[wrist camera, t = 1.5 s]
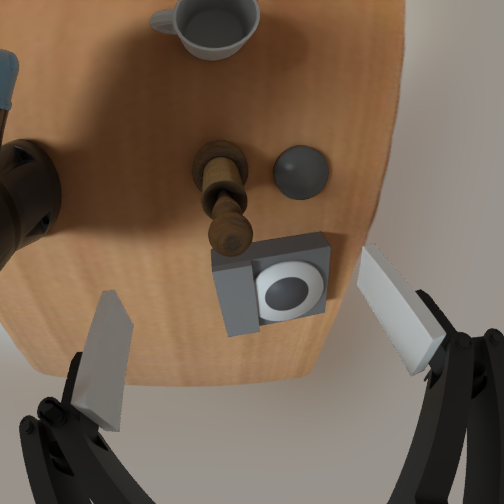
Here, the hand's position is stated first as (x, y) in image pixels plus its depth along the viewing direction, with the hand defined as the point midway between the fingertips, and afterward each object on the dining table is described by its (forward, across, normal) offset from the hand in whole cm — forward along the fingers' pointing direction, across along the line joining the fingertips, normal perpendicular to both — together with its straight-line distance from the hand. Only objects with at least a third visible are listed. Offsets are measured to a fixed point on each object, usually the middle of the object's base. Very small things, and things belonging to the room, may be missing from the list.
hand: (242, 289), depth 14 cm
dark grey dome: (+22, +10, -2) cm, 25 cm away
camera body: (+22, +5, -18) cm, 29 cm away
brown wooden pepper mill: (+23, 0, 0) cm, 23 cm away
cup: (+23, 0, +17) cm, 28 cm away
